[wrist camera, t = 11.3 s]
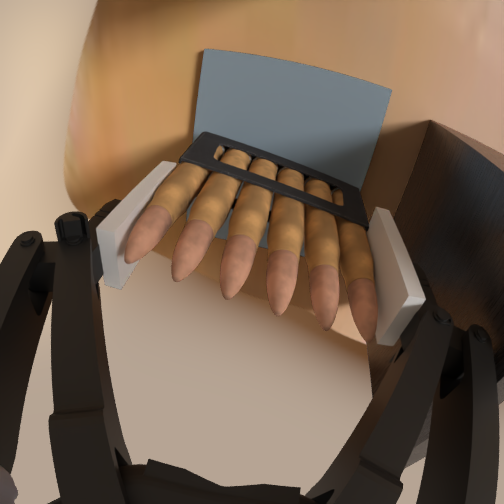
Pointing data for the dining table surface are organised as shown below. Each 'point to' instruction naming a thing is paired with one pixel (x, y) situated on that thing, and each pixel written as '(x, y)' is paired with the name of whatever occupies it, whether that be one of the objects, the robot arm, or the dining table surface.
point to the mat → (291, 114)
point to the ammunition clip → (254, 226)
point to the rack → (454, 243)
